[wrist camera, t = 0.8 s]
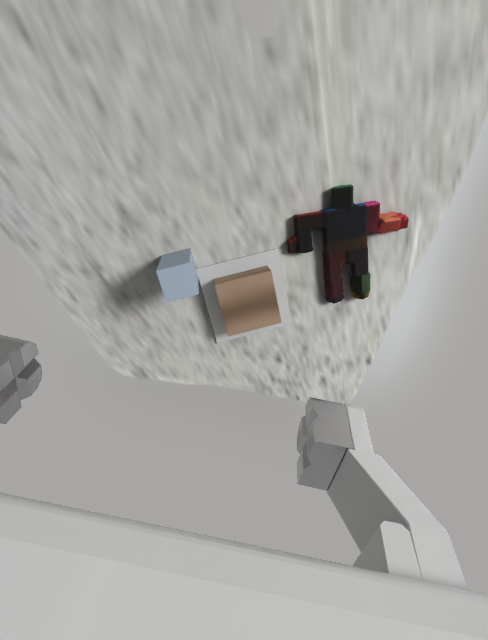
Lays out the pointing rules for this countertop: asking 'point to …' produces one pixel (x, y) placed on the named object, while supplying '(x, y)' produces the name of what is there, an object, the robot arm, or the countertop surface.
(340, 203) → the toy
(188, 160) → the countertop surface
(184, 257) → the post
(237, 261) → the mat
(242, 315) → the base block
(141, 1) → the countertop surface
